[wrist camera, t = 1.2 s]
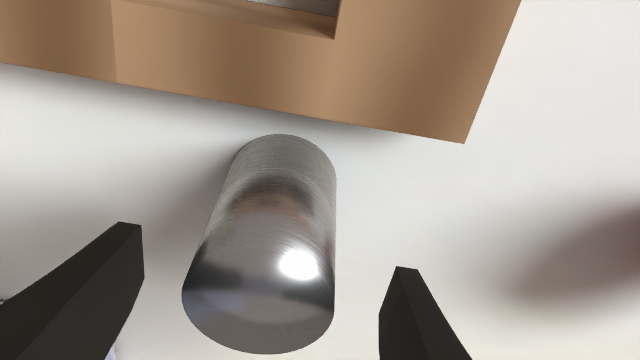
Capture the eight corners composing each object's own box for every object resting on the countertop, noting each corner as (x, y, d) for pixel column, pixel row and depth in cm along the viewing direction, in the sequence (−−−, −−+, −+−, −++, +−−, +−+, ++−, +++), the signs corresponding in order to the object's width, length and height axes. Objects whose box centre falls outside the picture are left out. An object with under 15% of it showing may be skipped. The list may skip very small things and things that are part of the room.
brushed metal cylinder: (227, 215, 18) (181, 343, 13) (233, 125, 15) (181, 236, 10) (325, 230, 18) (320, 363, 13) (346, 144, 16) (348, 262, 11)
